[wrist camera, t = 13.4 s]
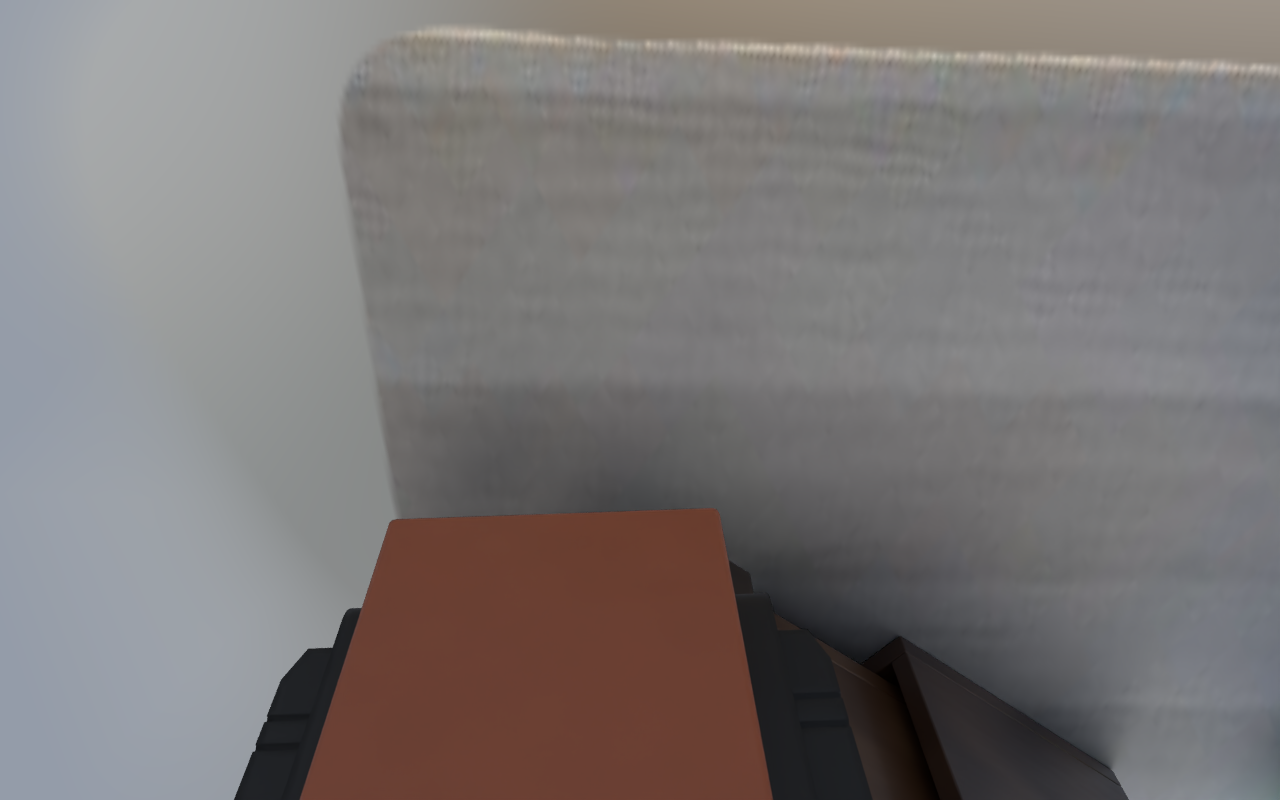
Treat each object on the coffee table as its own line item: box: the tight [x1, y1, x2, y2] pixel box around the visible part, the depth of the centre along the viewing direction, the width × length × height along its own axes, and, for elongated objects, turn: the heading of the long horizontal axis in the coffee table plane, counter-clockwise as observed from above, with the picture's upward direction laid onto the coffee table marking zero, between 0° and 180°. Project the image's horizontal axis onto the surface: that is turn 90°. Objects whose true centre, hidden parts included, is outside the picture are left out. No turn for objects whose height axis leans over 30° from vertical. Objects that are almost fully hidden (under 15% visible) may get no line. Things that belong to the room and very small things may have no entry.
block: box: [300, 508, 773, 800], centre depth 10 cm, size 4×4×4 cm
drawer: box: [728, 560, 940, 800], centre depth 30 cm, size 18×11×7 cm, turn 51°
